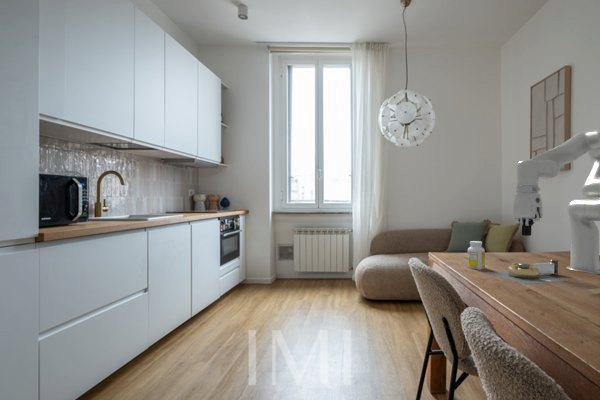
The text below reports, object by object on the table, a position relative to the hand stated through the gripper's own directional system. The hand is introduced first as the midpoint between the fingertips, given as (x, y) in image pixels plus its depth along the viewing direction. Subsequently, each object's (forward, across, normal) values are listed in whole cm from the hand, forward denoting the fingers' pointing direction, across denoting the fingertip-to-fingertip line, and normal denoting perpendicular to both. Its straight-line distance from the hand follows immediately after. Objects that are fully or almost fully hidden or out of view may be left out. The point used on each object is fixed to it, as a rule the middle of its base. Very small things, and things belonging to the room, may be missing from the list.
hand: (526, 235), depth 144 cm
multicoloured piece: (+15, -7, +3) cm, 16 cm away
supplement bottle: (+17, +12, +13) cm, 25 cm away
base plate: (+17, -6, +8) cm, 20 cm away
